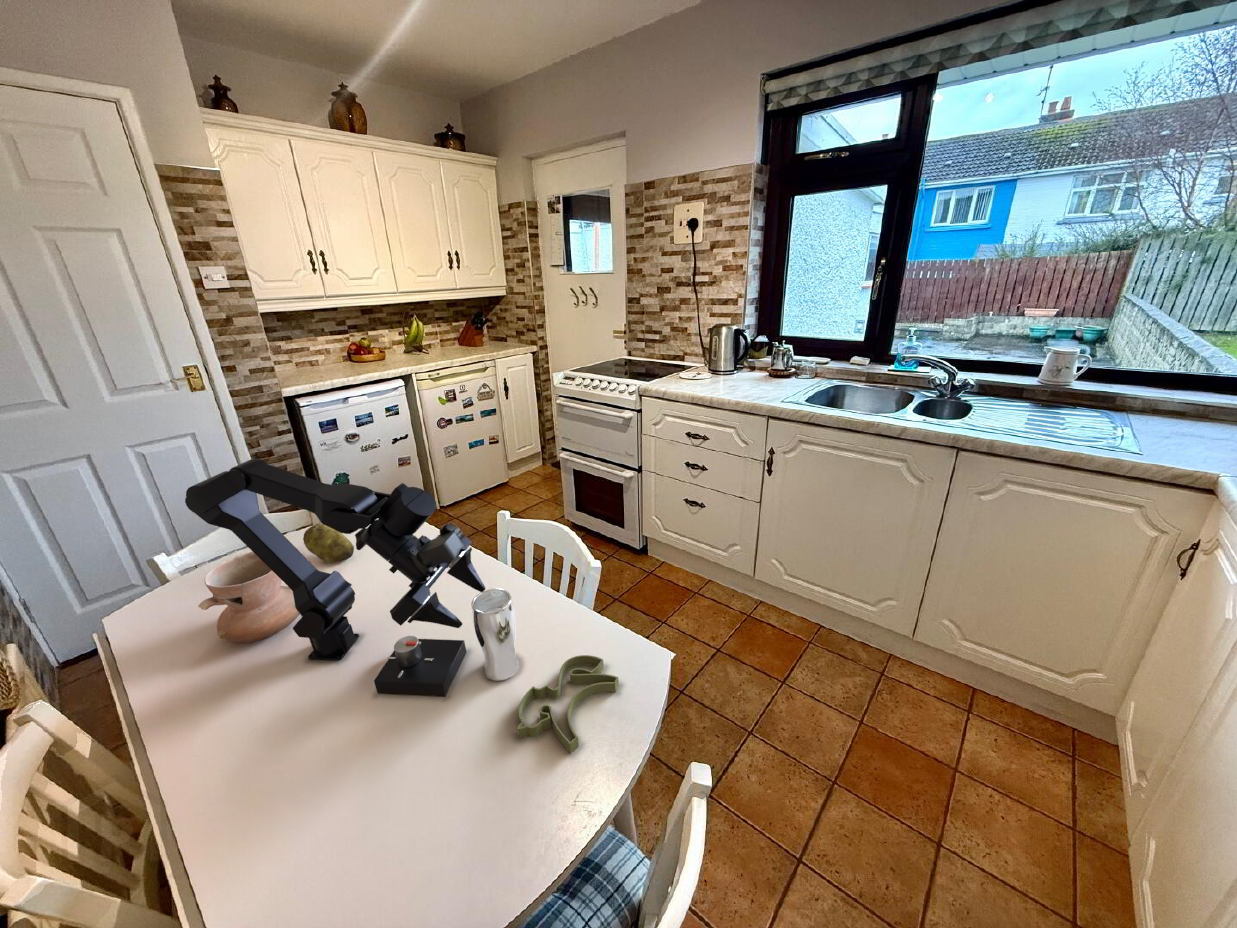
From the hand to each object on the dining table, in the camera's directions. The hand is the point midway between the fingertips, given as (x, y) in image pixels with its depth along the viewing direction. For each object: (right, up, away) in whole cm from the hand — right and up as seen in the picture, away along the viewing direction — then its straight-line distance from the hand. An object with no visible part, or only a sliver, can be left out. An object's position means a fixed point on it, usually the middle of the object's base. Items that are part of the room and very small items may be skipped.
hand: (472, 607), depth 83 cm
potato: (-47, +1, +39) cm, 61 cm away
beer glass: (+4, -12, +4) cm, 14 cm away
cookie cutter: (+17, -15, -3) cm, 23 cm away
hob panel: (-10, -13, +4) cm, 16 cm away
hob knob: (-12, -10, +3) cm, 16 cm away
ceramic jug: (-47, -8, +17) cm, 51 cm away
